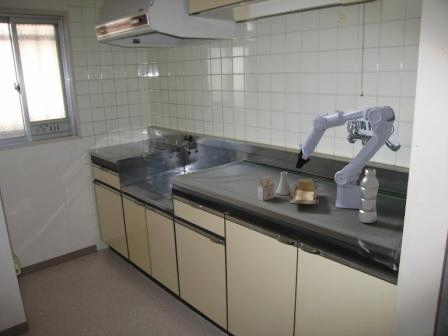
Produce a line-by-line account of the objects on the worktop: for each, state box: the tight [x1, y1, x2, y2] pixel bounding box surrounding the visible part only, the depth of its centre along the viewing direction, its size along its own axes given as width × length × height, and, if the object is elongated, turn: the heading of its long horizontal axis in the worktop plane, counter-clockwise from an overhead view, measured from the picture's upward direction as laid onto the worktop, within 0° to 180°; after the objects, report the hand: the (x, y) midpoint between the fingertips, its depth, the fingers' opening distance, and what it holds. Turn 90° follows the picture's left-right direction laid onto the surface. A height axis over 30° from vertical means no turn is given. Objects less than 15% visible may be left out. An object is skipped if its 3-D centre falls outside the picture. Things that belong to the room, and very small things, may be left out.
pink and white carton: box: [256, 175, 275, 202], centre depth 169 cm, size 4×7×10 cm, turn 125°
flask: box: [275, 171, 292, 196], centre depth 175 cm, size 7×7×10 cm
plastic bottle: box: [357, 167, 380, 224], centre depth 138 cm, size 6×7×20 cm
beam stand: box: [289, 198, 320, 206], centre depth 163 cm, size 12×6×2 cm, turn 75°
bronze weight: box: [297, 178, 314, 191], centre depth 169 cm, size 6×6×4 cm
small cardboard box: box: [289, 183, 318, 205], centre depth 163 cm, size 10×22×3 cm, turn 165°
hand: (298, 163), depth 172 cm, fingers open, 7 cm apart
